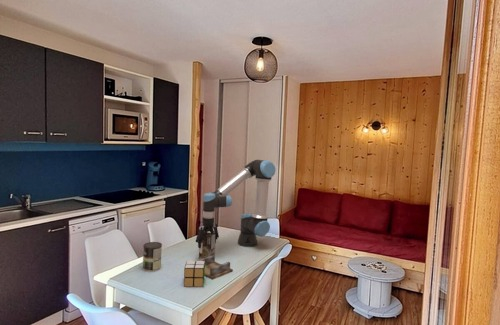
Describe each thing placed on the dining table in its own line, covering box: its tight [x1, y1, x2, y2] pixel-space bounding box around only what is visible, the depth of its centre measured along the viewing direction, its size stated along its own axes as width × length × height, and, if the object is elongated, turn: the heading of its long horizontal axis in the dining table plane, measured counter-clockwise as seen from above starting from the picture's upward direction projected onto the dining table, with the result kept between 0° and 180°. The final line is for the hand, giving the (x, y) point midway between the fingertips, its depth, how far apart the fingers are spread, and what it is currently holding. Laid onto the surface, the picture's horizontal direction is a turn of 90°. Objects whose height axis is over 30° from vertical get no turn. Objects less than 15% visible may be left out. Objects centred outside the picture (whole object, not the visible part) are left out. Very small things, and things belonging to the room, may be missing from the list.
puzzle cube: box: [183, 260, 206, 288], centre depth 156 cm, size 10×10×10 cm
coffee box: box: [198, 232, 217, 260], centre depth 191 cm, size 9×6×16 cm
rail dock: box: [196, 255, 234, 281], centre depth 172 cm, size 16×18×5 cm
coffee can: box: [142, 241, 163, 273], centre depth 171 cm, size 10×10×14 cm
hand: (207, 250), depth 191 cm, fingers open, 10 cm apart
